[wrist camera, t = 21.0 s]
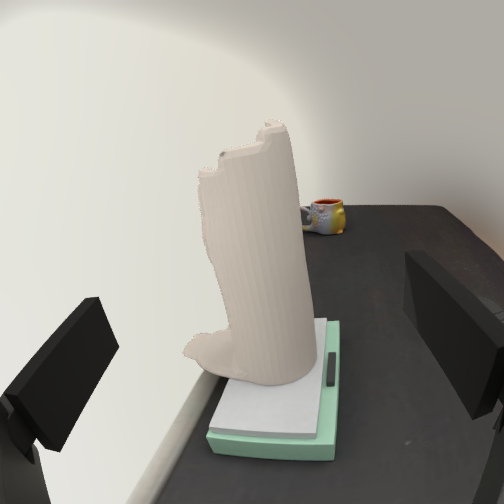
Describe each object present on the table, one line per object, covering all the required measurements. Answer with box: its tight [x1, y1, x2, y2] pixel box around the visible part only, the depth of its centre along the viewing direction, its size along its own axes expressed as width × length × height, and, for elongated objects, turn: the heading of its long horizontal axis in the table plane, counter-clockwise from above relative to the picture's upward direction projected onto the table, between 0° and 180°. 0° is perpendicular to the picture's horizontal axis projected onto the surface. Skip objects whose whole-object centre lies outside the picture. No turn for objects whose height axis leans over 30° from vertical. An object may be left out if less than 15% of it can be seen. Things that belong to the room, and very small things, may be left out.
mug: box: [300, 199, 346, 235], centre depth 69 cm, size 12×7×7 cm, turn 71°
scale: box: [206, 318, 340, 461], centre depth 28 cm, size 16×10×3 cm, turn 167°
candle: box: [183, 119, 317, 385], centre depth 26 cm, size 7×14×20 cm, turn 65°
